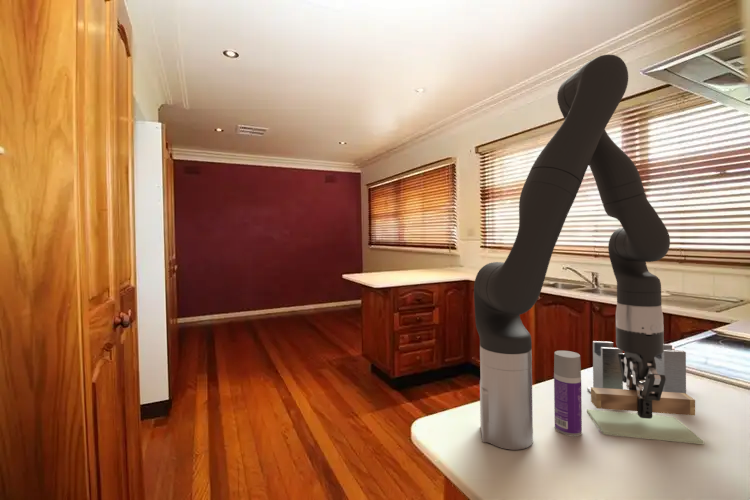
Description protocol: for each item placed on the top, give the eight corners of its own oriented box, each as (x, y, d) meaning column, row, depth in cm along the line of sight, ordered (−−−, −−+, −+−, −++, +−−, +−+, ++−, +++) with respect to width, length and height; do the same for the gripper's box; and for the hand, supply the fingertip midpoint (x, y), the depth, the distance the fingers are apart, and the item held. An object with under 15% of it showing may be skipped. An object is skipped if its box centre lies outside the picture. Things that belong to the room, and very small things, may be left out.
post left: (599, 404, 79) (599, 349, 78) (587, 389, 86) (586, 339, 86) (630, 406, 77) (629, 350, 77) (614, 391, 85) (614, 340, 85)
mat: (603, 434, 67) (603, 431, 67) (586, 412, 75) (586, 409, 75) (703, 444, 63) (703, 440, 63) (674, 419, 71) (674, 416, 71)
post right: (661, 409, 76) (661, 352, 76) (643, 393, 84) (642, 342, 83) (694, 411, 74) (694, 353, 74) (672, 395, 82) (672, 343, 82)
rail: (596, 408, 70) (596, 393, 70) (591, 401, 73) (590, 387, 72) (695, 415, 66) (695, 399, 66) (685, 408, 69) (685, 393, 69)
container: (585, 437, 66) (585, 358, 65) (558, 435, 67) (557, 357, 66) (576, 424, 70) (575, 350, 70) (551, 422, 71) (550, 349, 71)
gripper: (603, 318, 77) (604, 396, 77) (634, 335, 63) (635, 429, 63) (642, 319, 75) (643, 398, 75) (683, 336, 61) (684, 434, 61)
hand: (640, 412), depth 69 cm, fingers closed on rail, 3 cm apart
